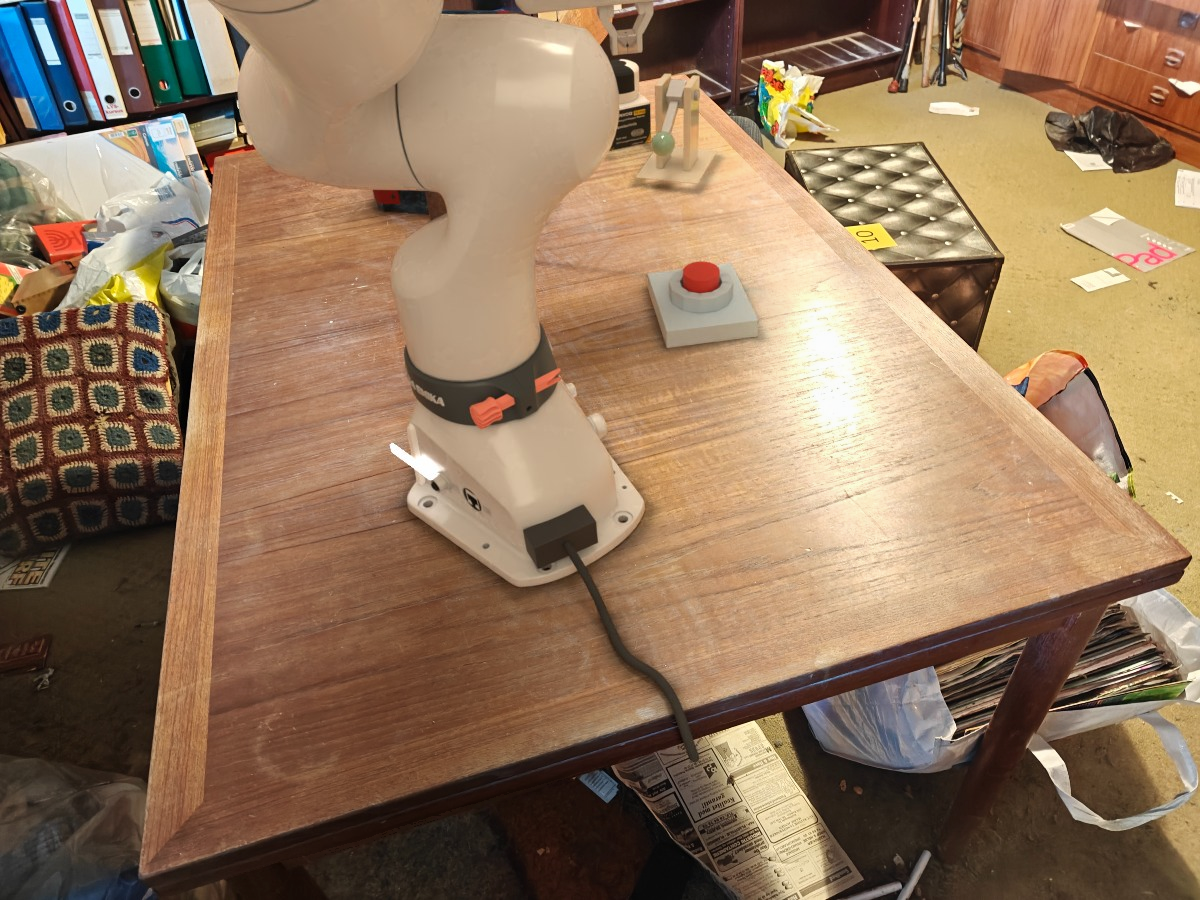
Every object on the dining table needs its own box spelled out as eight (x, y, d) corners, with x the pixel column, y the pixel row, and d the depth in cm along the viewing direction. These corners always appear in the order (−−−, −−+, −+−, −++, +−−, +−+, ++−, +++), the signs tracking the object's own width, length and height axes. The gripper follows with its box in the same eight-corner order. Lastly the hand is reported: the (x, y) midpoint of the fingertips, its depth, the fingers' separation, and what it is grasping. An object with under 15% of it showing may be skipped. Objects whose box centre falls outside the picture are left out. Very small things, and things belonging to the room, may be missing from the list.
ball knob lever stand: (697, 191, 119) (699, 98, 110) (635, 184, 121) (632, 93, 112) (717, 157, 126) (720, 68, 117) (658, 152, 129) (657, 64, 120)
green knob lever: (673, 162, 115) (669, 147, 112) (650, 160, 116) (646, 145, 113) (692, 94, 117) (689, 77, 114) (670, 92, 118) (666, 76, 115)
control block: (757, 336, 93) (759, 305, 90) (666, 348, 92) (666, 317, 89) (730, 279, 102) (732, 249, 99) (647, 289, 101) (646, 259, 98)
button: (722, 292, 93) (723, 278, 92) (686, 296, 93) (686, 282, 92) (714, 273, 96) (715, 259, 95) (679, 277, 96) (679, 263, 95)
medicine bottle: (608, 158, 128) (603, 75, 120) (591, 140, 133) (586, 60, 125) (651, 148, 130) (650, 66, 122) (633, 131, 135) (631, 51, 127)
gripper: (499, -99, 70) (520, 75, 79) (745, -123, 71) (737, 51, 80) (496, -113, 74) (516, 53, 84) (726, -136, 76) (721, 30, 85)
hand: (626, 52), depth 82 cm, fingers closed
